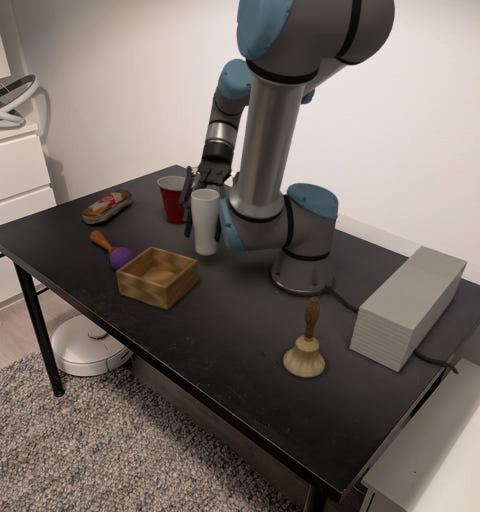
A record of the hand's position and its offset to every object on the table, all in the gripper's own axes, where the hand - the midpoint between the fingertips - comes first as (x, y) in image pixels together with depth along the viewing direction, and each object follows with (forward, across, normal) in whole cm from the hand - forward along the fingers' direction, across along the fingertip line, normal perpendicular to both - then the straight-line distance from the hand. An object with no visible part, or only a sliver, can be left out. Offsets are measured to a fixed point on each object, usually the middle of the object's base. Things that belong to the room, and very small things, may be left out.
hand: (201, 238), depth 108 cm
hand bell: (+26, -28, +11) cm, 40 cm away
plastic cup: (-12, +15, -25) cm, 32 cm away
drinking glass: (+2, 0, -6) cm, 7 cm away
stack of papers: (+12, -49, -2) cm, 50 cm away
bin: (+13, +8, 0) cm, 16 cm away
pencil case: (-10, +36, -24) cm, 45 cm away
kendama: (+7, +25, -7) cm, 26 cm away
